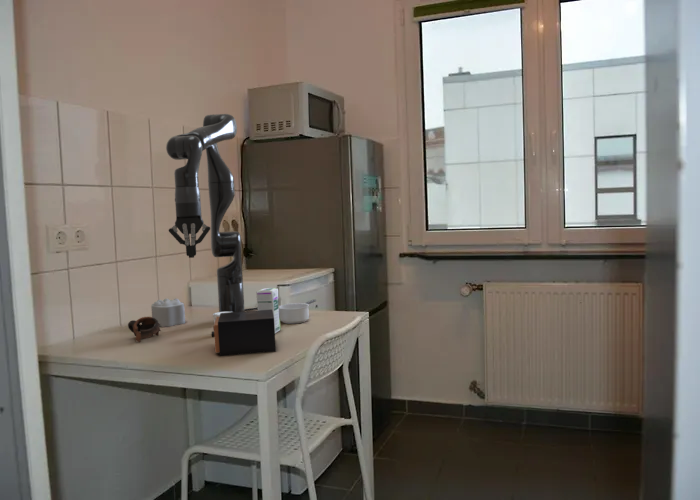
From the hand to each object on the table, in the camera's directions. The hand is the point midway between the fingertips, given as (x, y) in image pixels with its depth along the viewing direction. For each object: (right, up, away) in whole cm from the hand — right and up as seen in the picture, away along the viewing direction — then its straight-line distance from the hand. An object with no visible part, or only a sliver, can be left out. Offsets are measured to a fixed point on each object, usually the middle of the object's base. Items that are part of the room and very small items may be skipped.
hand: (191, 257), depth 173 cm
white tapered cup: (+7, -26, +13) cm, 30 cm away
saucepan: (+31, -23, +33) cm, 51 cm away
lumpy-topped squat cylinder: (-19, -25, +35) cm, 47 cm away
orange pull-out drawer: (+16, -26, -7) cm, 32 cm away
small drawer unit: (+19, -27, -7) cm, 34 cm away
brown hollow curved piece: (-18, -27, +10) cm, 34 cm away
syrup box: (+22, -25, +13) cm, 36 cm away
